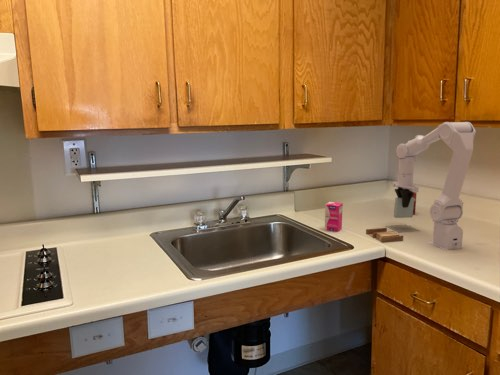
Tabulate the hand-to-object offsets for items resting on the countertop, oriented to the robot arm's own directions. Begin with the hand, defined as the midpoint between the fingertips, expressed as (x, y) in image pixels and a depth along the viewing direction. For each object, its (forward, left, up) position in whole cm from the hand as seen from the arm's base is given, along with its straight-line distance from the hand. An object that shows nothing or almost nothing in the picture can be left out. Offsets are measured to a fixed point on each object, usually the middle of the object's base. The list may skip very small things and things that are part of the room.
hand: (403, 206), depth 165 cm
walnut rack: (-9, +14, -10) cm, 19 cm away
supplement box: (+6, +28, -10) cm, 30 cm away
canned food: (+25, -19, -10) cm, 33 cm away
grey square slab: (0, 0, -4) cm, 4 cm away
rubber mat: (0, 0, -10) cm, 10 cm away
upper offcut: (-12, +14, -8) cm, 20 cm away
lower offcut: (-12, +14, -9) cm, 20 cm away
